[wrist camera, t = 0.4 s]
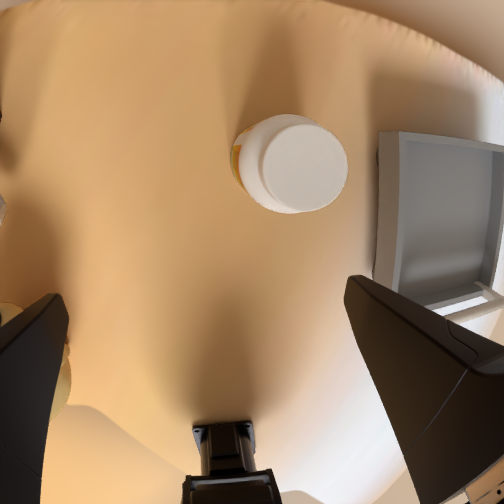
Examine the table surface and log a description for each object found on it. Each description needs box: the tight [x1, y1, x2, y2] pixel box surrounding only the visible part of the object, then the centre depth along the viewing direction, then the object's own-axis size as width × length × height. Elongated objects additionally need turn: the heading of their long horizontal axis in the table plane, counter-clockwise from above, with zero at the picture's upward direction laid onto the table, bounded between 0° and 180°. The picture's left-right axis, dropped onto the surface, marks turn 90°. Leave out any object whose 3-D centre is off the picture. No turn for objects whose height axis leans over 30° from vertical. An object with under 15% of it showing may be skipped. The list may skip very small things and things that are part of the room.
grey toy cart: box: [372, 131, 504, 324], centre depth 22 cm, size 14×13×8 cm
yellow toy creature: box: [0, 302, 71, 422], centre depth 19 cm, size 10×12×11 cm
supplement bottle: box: [230, 114, 348, 214], centre depth 18 cm, size 5×5×10 cm
